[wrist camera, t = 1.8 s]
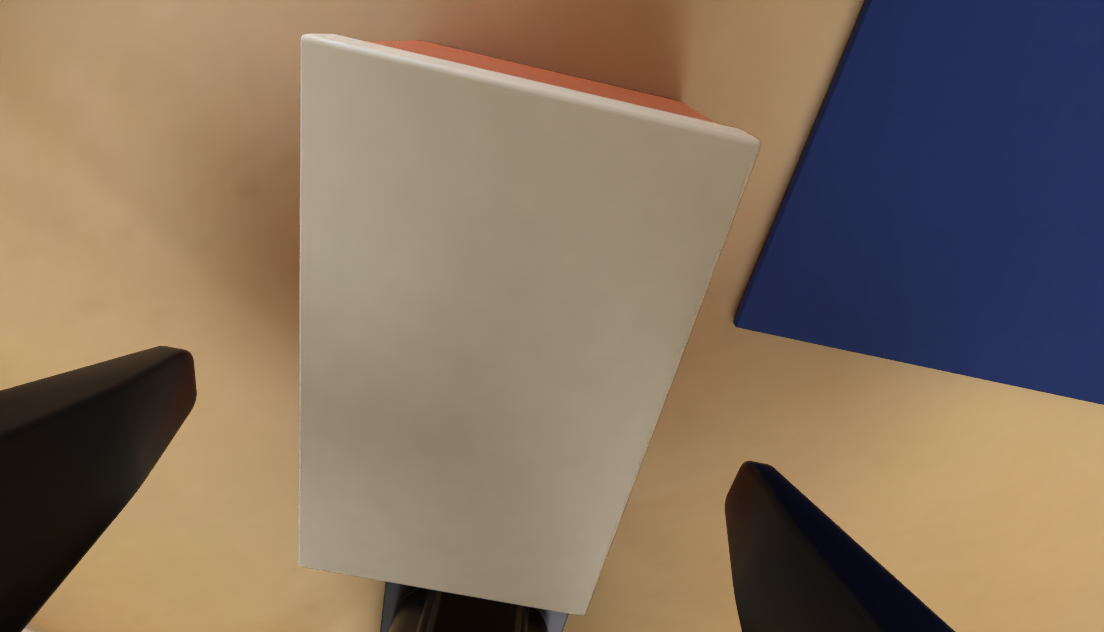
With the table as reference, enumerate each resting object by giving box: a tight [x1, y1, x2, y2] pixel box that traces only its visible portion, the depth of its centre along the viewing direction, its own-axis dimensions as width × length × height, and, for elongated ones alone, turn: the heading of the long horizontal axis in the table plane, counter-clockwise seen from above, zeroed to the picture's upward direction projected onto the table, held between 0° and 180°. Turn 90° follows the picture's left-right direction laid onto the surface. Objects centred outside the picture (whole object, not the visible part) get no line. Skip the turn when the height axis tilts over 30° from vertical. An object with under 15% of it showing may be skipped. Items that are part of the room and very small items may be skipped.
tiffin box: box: [298, 34, 760, 616], centre depth 12 cm, size 10×6×6 cm, turn 168°
